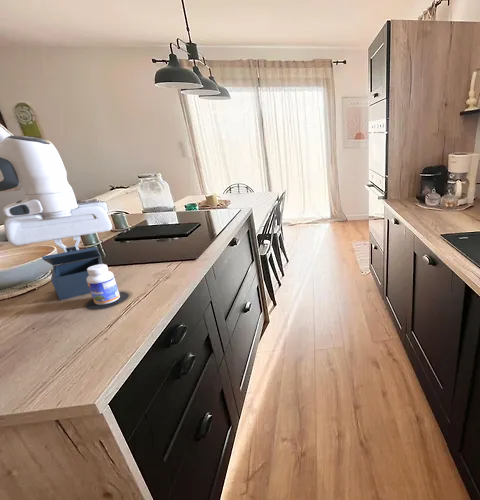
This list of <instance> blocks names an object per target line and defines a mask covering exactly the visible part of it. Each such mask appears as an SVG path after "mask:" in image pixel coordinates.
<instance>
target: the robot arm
mask: <svg viewBox="0 0 480 500" xmlns="http://www.w3.org/2000/svg"><path fill="white" fill-rule="evenodd" d="M67 176H68V172H67V169H66V167H65V165H64V162H63V160H62V157H61V155H60V153H59V151H58V150H57V148H56V146H55V145H54V144H53V143H52V142H51V141H50V140H47V139H45V138H43V137H36V136H30V135H27V136H26V135H14V133H13V132H11V131H9V130H8V129H7V128H6V127H5V126H4V125H2V124H1V123H0V193H1V194H3V193H8V192H17V191H22V192H23V194H24V197H25V198H24V199H21V200H17V201H15V202H13V203H10V204H7V205H6V206H4V207H3V208H2V212H3V215H4V216H5V217H6V218H5V220H4V223H3V229H4V232H5V236H6V239H7V242H8V243H9V244H10V245H13V246H15V247H17V246H24V245H31V244H36V243H44V242H48V241H53V242H54V243H55V245H57V246H58V247H59V248H60V249H63V253H65V252H70V251H76V250H80V247H79V245H80V242H81V236H87V235H93V234H99V233H105V232H111V230H112V228H113V224H112V221H111V219H110V217H109V215H108V213H109V211H110V210H109V205H108V204H107V202H106V201H104V200H103V199H99V198H91V199H80V200H77V198H76V195H75V193H74V189H73V187H72V186H71V185H70V183H69V181H68V177H67ZM67 238H72V239H73V241H74V244H72V245H65V244H64V243H63V239H67Z"/></svg>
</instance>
